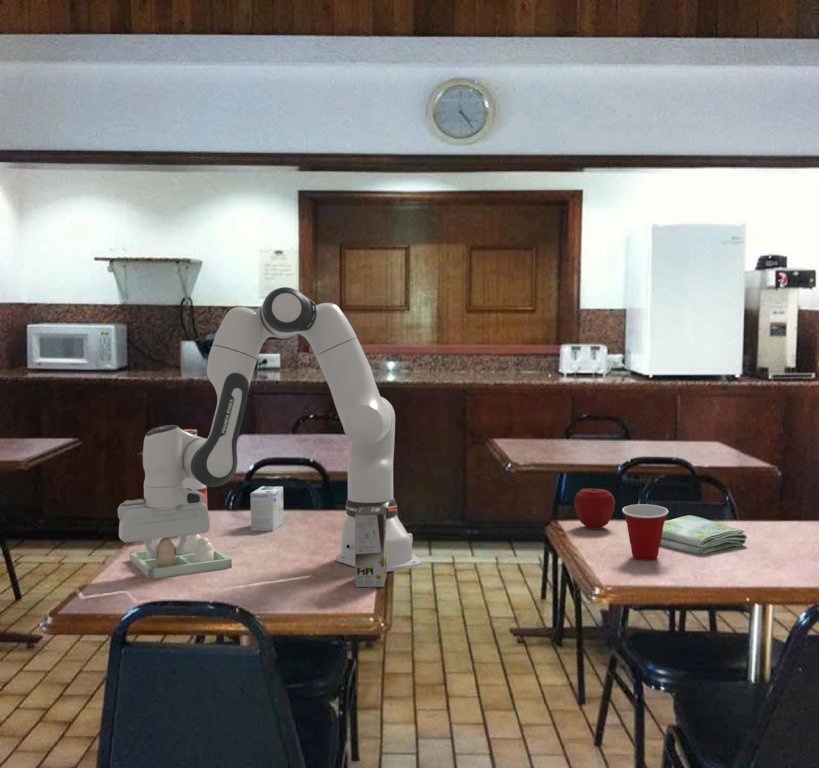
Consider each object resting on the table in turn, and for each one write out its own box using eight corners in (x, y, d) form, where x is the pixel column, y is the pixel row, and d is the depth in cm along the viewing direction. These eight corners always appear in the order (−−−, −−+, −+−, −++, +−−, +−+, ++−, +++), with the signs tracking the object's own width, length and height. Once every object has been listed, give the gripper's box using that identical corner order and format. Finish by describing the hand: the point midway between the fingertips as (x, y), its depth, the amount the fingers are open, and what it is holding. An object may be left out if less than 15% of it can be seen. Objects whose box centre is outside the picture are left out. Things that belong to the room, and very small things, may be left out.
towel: (701, 557, 228) (701, 536, 228) (636, 540, 246) (636, 521, 246) (749, 547, 238) (750, 527, 238) (684, 531, 256) (684, 513, 256)
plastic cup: (618, 561, 223) (619, 511, 223) (624, 550, 234) (625, 503, 233) (666, 565, 220) (666, 514, 219) (669, 554, 230) (670, 505, 229)
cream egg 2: (204, 558, 228) (204, 530, 227) (186, 560, 226) (186, 532, 225) (199, 554, 232) (199, 527, 231) (181, 556, 230) (181, 529, 229)
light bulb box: (261, 522, 270) (261, 485, 270) (284, 523, 270) (283, 486, 269) (250, 531, 260) (249, 492, 259) (273, 531, 259) (273, 492, 258)
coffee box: (384, 587, 203) (383, 514, 202) (355, 587, 203) (354, 514, 202) (387, 576, 212) (386, 505, 211) (358, 576, 213) (357, 505, 212)
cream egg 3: (216, 566, 220) (215, 537, 220) (197, 568, 218) (197, 540, 217) (210, 562, 224) (210, 534, 223) (192, 564, 222) (191, 536, 221)
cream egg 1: (167, 562, 223) (167, 535, 223) (149, 565, 221) (148, 537, 221) (163, 558, 227) (162, 531, 227) (144, 561, 225) (143, 533, 225)
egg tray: (231, 569, 219) (231, 559, 219) (149, 581, 210) (149, 570, 210) (207, 552, 235) (207, 542, 235) (130, 562, 226) (129, 552, 226)
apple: (621, 527, 260) (622, 485, 260) (601, 534, 252) (602, 490, 252) (586, 521, 268) (587, 481, 267) (566, 528, 260) (566, 486, 259)
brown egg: (177, 567, 216) (177, 538, 215) (158, 569, 214) (157, 540, 213) (172, 562, 220) (172, 534, 219) (153, 565, 217) (153, 536, 217)
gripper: (120, 503, 208) (122, 565, 209) (211, 494, 217) (212, 553, 218) (114, 499, 213) (116, 559, 214) (203, 490, 223) (204, 548, 224)
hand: (165, 556), depth 216 cm, fingers closed on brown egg, 4 cm apart
